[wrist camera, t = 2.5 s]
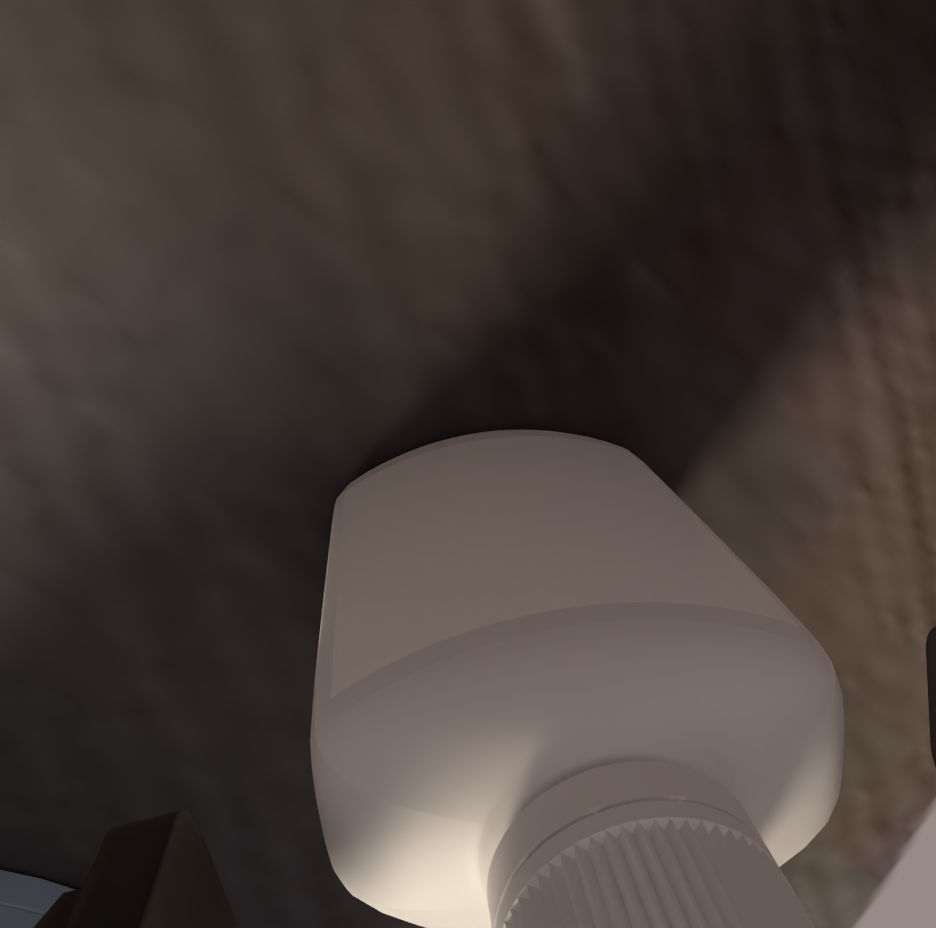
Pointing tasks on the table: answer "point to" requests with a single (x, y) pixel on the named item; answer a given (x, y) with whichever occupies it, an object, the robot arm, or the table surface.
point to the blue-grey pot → (26, 899)
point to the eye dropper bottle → (561, 699)
